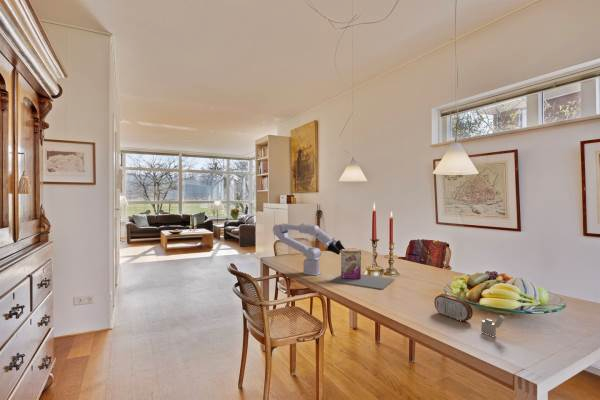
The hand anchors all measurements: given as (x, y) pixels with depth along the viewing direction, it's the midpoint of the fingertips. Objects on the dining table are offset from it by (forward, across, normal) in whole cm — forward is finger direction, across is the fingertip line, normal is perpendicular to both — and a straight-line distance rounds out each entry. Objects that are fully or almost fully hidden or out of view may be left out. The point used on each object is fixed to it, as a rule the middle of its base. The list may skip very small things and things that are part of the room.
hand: (342, 252), depth 188 cm
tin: (+61, -33, -20) cm, 72 cm away
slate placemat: (+18, 0, +6) cm, 20 cm away
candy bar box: (+12, 0, +10) cm, 16 cm away
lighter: (+73, -44, -28) cm, 89 cm away
